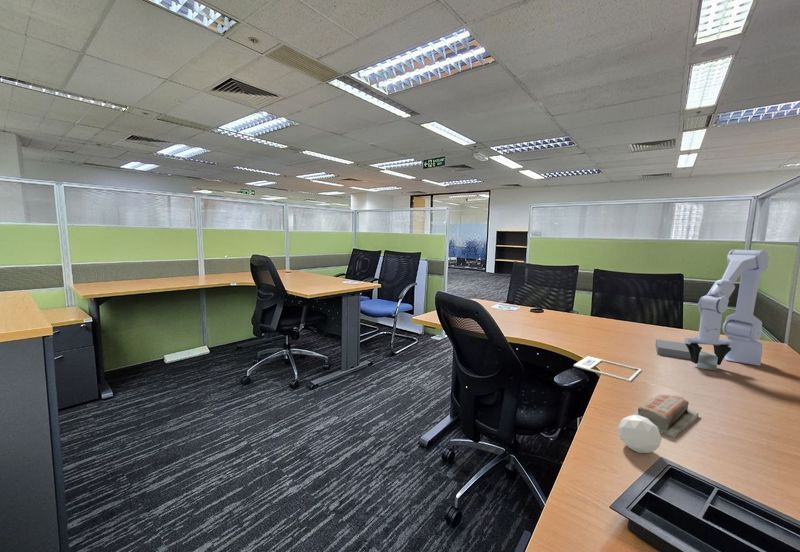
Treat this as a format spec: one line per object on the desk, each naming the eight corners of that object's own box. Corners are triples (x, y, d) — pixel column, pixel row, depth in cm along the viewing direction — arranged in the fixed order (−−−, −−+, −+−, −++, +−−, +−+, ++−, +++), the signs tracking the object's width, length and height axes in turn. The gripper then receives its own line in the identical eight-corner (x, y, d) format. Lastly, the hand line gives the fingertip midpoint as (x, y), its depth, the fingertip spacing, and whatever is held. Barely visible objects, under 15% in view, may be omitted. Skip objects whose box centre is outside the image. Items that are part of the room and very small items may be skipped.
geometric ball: (630, 454, 77) (631, 419, 80) (669, 462, 70) (669, 423, 73) (609, 443, 74) (611, 408, 78) (647, 450, 68) (648, 411, 71)
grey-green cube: (713, 366, 124) (714, 353, 124) (716, 370, 120) (717, 357, 120) (694, 363, 127) (696, 350, 127) (697, 367, 123) (698, 354, 122)
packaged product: (676, 421, 78) (629, 403, 86) (674, 440, 78) (627, 421, 87) (701, 401, 88) (656, 387, 96) (699, 418, 89) (654, 402, 97)
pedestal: (696, 352, 141) (697, 345, 140) (702, 361, 129) (703, 354, 129) (655, 345, 149) (656, 339, 148) (657, 354, 137) (657, 347, 137)
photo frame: (587, 355, 133) (641, 368, 120) (587, 358, 133) (641, 371, 120) (573, 364, 123) (630, 379, 110) (573, 367, 123) (630, 383, 110)
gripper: (723, 326, 125) (719, 360, 126) (680, 324, 127) (677, 358, 129) (739, 331, 118) (734, 367, 119) (693, 329, 120) (689, 364, 122)
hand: (705, 363), depth 124 cm, fingers closed on grey-green cube, 7 cm apart
